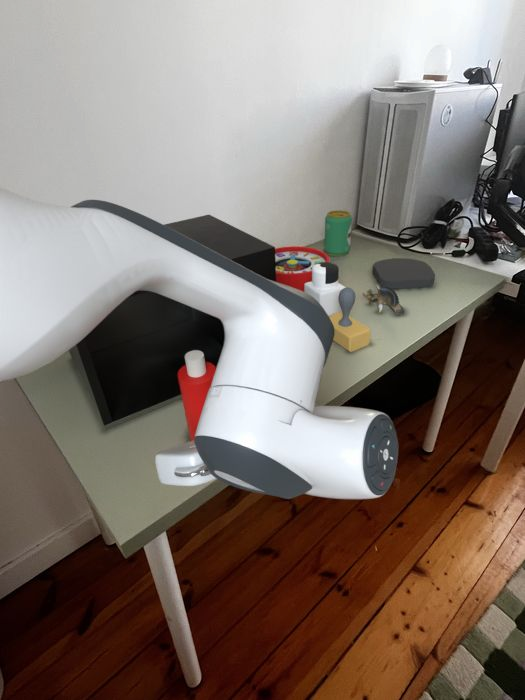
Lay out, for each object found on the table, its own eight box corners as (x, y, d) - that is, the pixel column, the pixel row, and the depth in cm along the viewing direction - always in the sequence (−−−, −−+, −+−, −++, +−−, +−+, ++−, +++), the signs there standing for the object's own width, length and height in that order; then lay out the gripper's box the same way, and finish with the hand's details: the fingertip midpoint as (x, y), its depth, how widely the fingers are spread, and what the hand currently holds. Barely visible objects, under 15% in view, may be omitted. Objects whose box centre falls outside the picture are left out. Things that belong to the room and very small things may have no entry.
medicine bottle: (328, 302, 109) (330, 257, 102) (344, 314, 104) (347, 267, 97) (303, 309, 107) (303, 263, 100) (319, 321, 101) (320, 274, 94)
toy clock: (251, 274, 111) (259, 246, 128) (253, 295, 114) (261, 265, 131) (330, 274, 109) (328, 245, 125) (329, 295, 112) (327, 264, 129)
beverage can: (349, 256, 133) (351, 217, 126) (323, 256, 134) (324, 217, 128) (350, 247, 139) (352, 209, 133) (325, 246, 141) (326, 209, 134)
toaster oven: (107, 434, 73) (64, 309, 60) (72, 360, 93) (34, 253, 80) (282, 361, 89) (279, 248, 75) (220, 310, 108) (209, 214, 95)
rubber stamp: (320, 332, 97) (321, 283, 90) (340, 324, 100) (343, 276, 93) (349, 352, 90) (353, 301, 83) (370, 343, 92) (375, 293, 86)
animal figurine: (359, 310, 102) (397, 312, 97) (363, 280, 102) (401, 281, 97) (371, 314, 109) (407, 317, 103) (375, 286, 109) (411, 287, 103)
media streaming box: (381, 290, 113) (382, 280, 111) (369, 268, 125) (370, 258, 123) (438, 288, 112) (440, 277, 111) (420, 265, 125) (422, 256, 123)
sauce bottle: (199, 452, 69) (183, 371, 60) (184, 431, 73) (168, 353, 64) (230, 437, 71) (220, 357, 62) (214, 417, 75) (203, 340, 67)
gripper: (197, 508, 43) (139, 491, 53) (331, 447, 56) (263, 443, 67) (184, 446, 43) (129, 441, 53) (321, 399, 56) (255, 403, 67)
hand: (205, 442), depth 60 cm, fingers open, 8 cm apart
